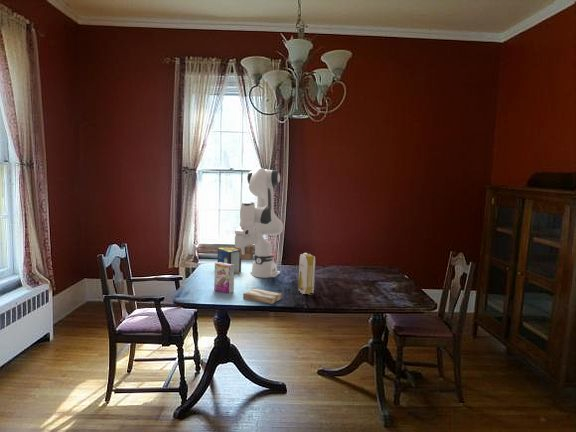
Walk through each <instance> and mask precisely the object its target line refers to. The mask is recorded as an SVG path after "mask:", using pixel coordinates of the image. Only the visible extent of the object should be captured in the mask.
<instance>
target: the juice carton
mask: <svg viewBox="0 0 576 432" xmlns="http://www.w3.org/2000/svg"><path fill="white" fill-rule="evenodd" d="M298 264H299V265H298V281H297V282H298V283H297V284H298V285H297V286H298V292H299V291H300V292H299V293H301V294H302V295H303V294H308V295H311V294H310V293H313V294H314V291H315V279H316V276H315V275H316V256H314V255H312V254H311V253H308V252H304V253H301V254H300V255H299V263H298Z"/></svg>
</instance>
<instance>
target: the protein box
mask: <svg viewBox="0 0 576 432" xmlns="http://www.w3.org/2000/svg"><path fill="white" fill-rule="evenodd" d="M218 262H222V263H227V264H232V265H234V274H237V273H241V272H242V259H240V249H239V248H236V247H231V246H225V247H218V248H217V263H218Z"/></svg>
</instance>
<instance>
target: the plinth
mask: <svg viewBox="0 0 576 432" xmlns="http://www.w3.org/2000/svg"><path fill="white" fill-rule="evenodd" d="M281 298H283V293H281V292H276V291H269V290H264V289H261V288H252V289H249V290H247V291H246V292H243V294H242V299H244V300H248V301H249V300H250V301H253V302H258V303H265V304H270V305H272V304H274V303H276V302H279V301H280V300H282V299H281Z"/></svg>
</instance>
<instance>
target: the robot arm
mask: <svg viewBox="0 0 576 432" xmlns="http://www.w3.org/2000/svg"><path fill="white" fill-rule="evenodd" d="M246 177H247V178H246V179H247V183H248V189H249V192H250V193H251V194H252V195H254V196H256V197H257V202H256V203H257V205H256V203H255V202H253V201H249V200H248V201H242V202H241V204H240V209H239V210H240V211H239V219H240V222H239V226H238V228H237V229H235V230H234V234H235V236H234V246H235V247H234V248H235V249H240V248H241V251H242V254H243V255H244V254H246V251H245V247H246V246H249V245H254V252H255V253H254V254H253V259H254V261H253V262H252V267H251V271H250V272H249V273H250V275H251V276H253V277H255V278H276V277H277V276H278V275H280V274H281V271H280V270H278V265H277V263H276V262H274V259H273V258H274V257H275V255H274V254H272V247H273V245H272V242H270V241H269V240H267V239H265V237H264V236H277V235H280V234H282V232H283V231H284V223H283V222H282V220H281V219H279V218H278V216H277V215H276V213H275V211H274V209H275V208H274V207H275V206H274V203H275V202H274V198H275V196H274V195H275V191H274V189H276V187H277V186H278V185H279V183H280V182H281V175H280V172H279V171H278V170H275V169H265V168H263V167H256V169H253V170H250V171H249V172H248V173H247V176H246Z"/></svg>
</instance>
